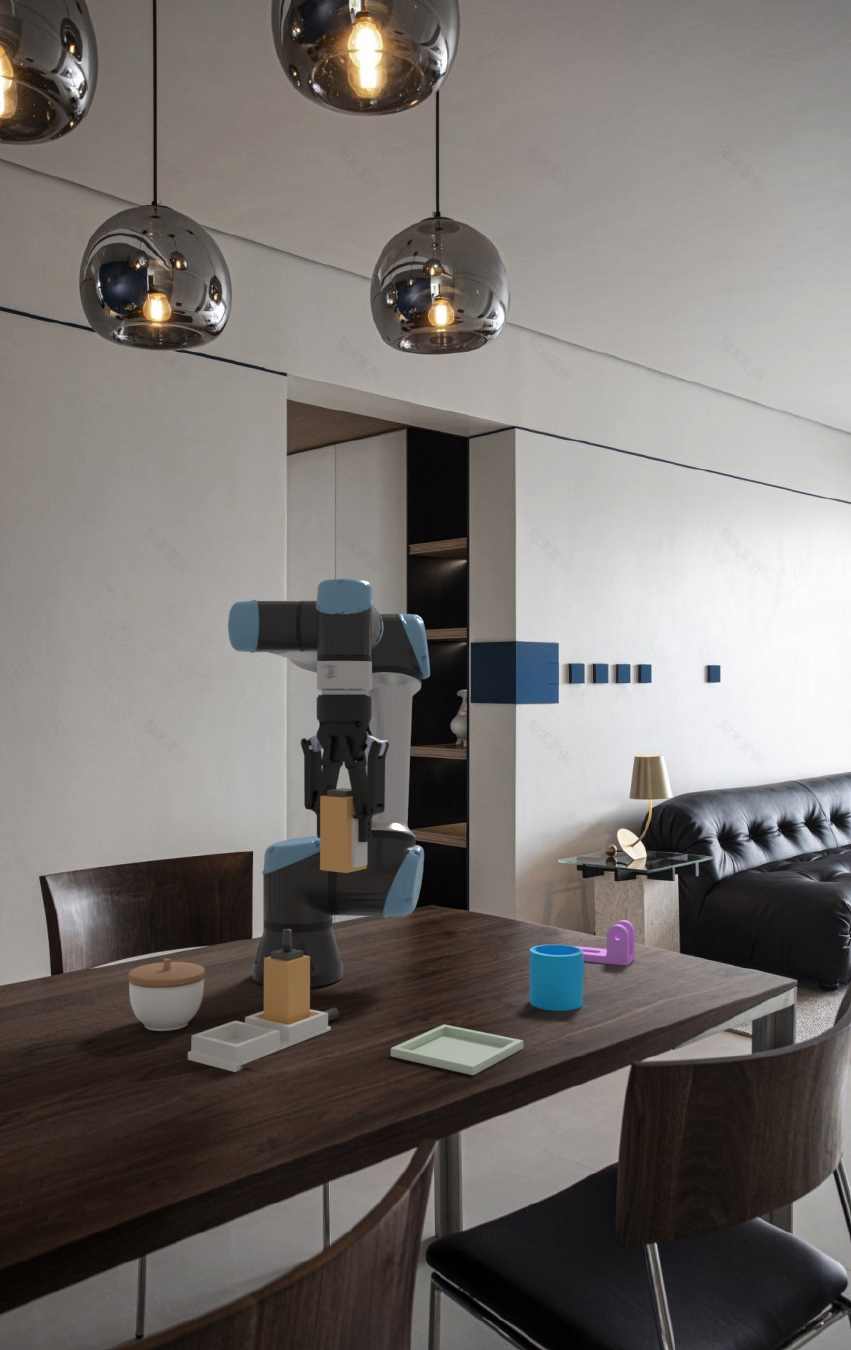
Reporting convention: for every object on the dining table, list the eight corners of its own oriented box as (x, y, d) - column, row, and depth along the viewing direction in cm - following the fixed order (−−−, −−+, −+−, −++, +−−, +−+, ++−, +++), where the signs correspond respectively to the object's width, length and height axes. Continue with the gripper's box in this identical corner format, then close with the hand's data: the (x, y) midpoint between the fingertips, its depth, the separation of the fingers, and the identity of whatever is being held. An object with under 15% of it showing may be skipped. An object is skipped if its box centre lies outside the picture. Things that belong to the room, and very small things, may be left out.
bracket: (634, 959, 199) (634, 920, 199) (627, 966, 194) (627, 926, 194) (565, 952, 204) (565, 914, 204) (556, 959, 199) (556, 920, 199)
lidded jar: (137, 1040, 151) (138, 971, 151) (120, 1020, 160) (121, 955, 161) (213, 1029, 156) (214, 963, 156) (193, 1010, 165) (193, 947, 165)
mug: (565, 1014, 164) (565, 959, 164) (519, 1004, 169) (519, 951, 169) (605, 997, 174) (604, 945, 174) (560, 988, 179) (560, 937, 179)
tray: (390, 1060, 143) (390, 1048, 143) (444, 1035, 153) (444, 1024, 153) (473, 1079, 136) (473, 1066, 136) (523, 1052, 146) (523, 1040, 146)
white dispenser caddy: (234, 1072, 138) (235, 953, 138) (187, 1059, 143) (188, 945, 143) (357, 1023, 159) (357, 920, 159) (312, 1013, 164) (312, 914, 164)
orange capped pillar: (320, 869, 149) (320, 790, 149) (340, 865, 153) (340, 787, 153) (346, 873, 147) (346, 791, 147) (366, 868, 150) (366, 789, 150)
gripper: (277, 692, 152) (276, 862, 151) (380, 693, 142) (380, 874, 142) (311, 692, 158) (310, 855, 158) (413, 693, 148) (412, 866, 148)
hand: (343, 863), depth 150 cm, fingers closed on orange capped pillar, 4 cm apart
